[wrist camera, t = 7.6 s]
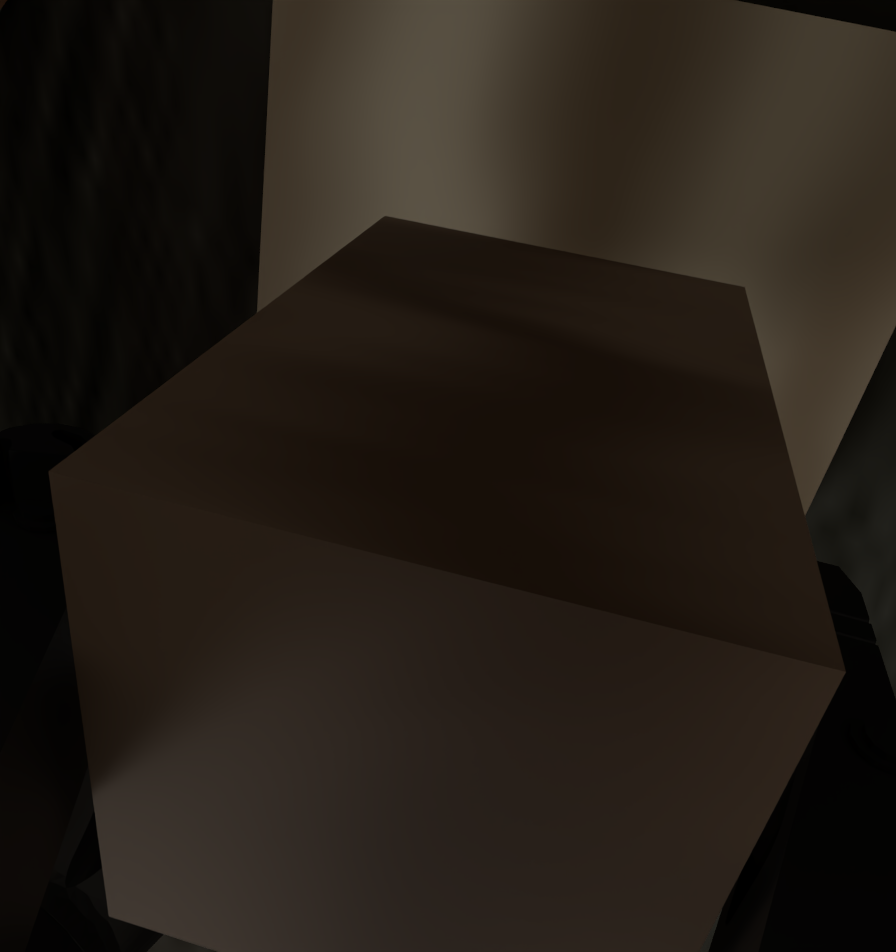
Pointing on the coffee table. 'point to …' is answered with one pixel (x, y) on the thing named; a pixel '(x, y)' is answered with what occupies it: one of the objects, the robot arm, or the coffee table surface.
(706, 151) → the oak block
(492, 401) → the walnut block
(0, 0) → the electronic device
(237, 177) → the coffee table surface
